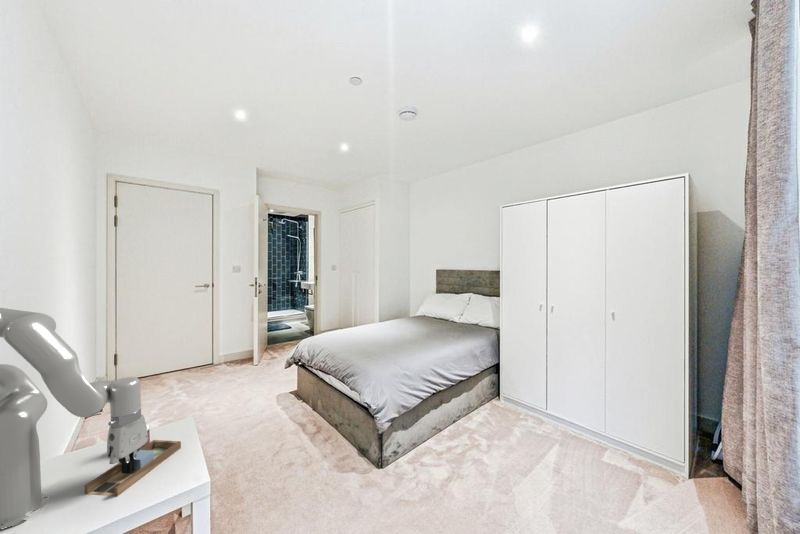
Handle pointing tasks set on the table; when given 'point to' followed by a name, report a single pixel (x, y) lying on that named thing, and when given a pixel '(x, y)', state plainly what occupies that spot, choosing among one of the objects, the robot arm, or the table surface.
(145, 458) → the block
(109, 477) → the box
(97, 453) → the table surface
